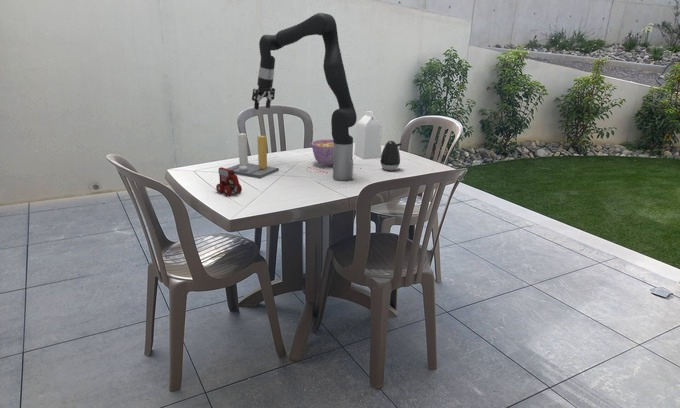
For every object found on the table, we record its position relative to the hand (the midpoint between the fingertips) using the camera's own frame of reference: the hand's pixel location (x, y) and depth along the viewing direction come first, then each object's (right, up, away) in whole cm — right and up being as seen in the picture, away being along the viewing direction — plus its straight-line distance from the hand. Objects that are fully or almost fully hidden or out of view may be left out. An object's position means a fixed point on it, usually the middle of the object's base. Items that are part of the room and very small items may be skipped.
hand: (262, 108), depth 225 cm
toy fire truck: (-7, -45, -38) cm, 59 cm away
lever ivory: (-9, -29, -1) cm, 31 cm away
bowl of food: (+35, -28, +11) cm, 46 cm away
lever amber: (+2, -31, -6) cm, 32 cm away
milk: (+56, -22, +30) cm, 67 cm away
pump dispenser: (+66, -32, +2) cm, 74 cm away
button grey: (-7, -33, -11) cm, 35 cm away
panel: (-4, -33, -6) cm, 34 cm away
